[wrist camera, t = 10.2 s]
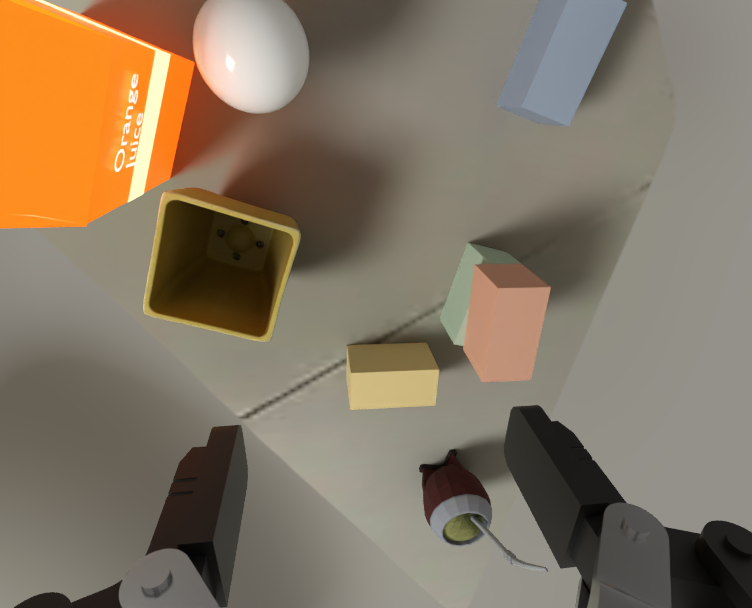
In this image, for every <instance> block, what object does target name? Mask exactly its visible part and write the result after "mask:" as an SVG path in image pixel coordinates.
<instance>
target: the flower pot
mask: <svg viewBox="0 0 752 608" xmlns="http://www.w3.org/2000/svg"><path fill="white" fill-rule="evenodd" d="M242 219H244V220H247V221H249V222H248V223H247V224H244V223H242ZM219 230H223V231H224V232H225V234H224V236H220V235H219V234H218V231H219ZM300 240H301V233H300V230H299V228H298V226H297V224H296V222H295V220H294V219H293V218H291V217H289V216H287V215H284V214H280V213H276V212H273V211H270V210H266V209H263V208H260V207H257V206H253V205H250V204H247V203H244V202H240V201H237V200H234V199H231V198H228V197H225V196H221V195H218V194H215V193H212V192H209V191H207V190H203V189H199V188H185V189H178V190H171V191H165V192H164V193H163V194H162V196H161V201H160V206H159V212H158V218H157V224H156V231H155V237H154V243H153V249H152V255H151V261H150V267H149V273H148V279H147V284H146V289H145V294H144V301H143V311H144V313H145V314H146V315H149V316H152V317H155V318H159V319H163V320H168V321H173V322H177V323H182V324H186V325H191V326H195V327H200V328H204V329H208V330H213V331H217V332H221V333H225V334H229V335H233V336H237V337H242V338H245V339H250V340H254V341H261V342H268V341H270V340H271V338H272V335H273V331H274V327H275V323H276V319H277V315H278V312H279V308H280V304H281V301H282V297H283V293H284V290H285V287H286V284H287V281H288V277H289V274H290V271H291V268H292V265H293V261H294V258H295V255H296V252H297V249H298V246H299V243H300ZM257 241H261V242H262V243H263V246H262V247H258V246H257V245H256V243H257ZM234 253H238V254H239V255H240V258H239V259H235V258H234V257H233V254H234Z"/></svg>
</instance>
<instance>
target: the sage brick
mask: <svg viewBox="0 0 752 608" xmlns="http://www.w3.org/2000/svg"><path fill="white" fill-rule="evenodd" d="M475 264H521V263H520V262H519V261H517V260H516V259H515V258H514V257H512V256H511V255H510V254H509V253H507V252H505V251H501V250H497V249H493V248H489V247H485V246H480V245H476V244H472V243H467V246H466V249H465V251H464V254H463V257H462V260H461V262H460V265H459V268H458V270H457V273H456V276H455V279H454V281H453V284H452V287H451V289H450V292H449V295H448V297H447V300H446V303H445V306H444V308H443V311H442V314H441V316H440V321H441V322H442V324H443V326H444V328H445V329H446V331H447V333H448V335H449V337H450V338H451V340H452V342H453V344H454V345H460V346H464V339H465V332H466V324H467V317H468V310H469V302H470V295H471V288H472V280H473V273H474V266H475ZM522 265H523V264H522ZM527 269H528V268H527Z"/></svg>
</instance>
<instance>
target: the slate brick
mask: <svg viewBox="0 0 752 608" xmlns="http://www.w3.org/2000/svg"><path fill="white" fill-rule="evenodd" d="M626 5H627V3H626V2H624V1H622V0H539V3H538V5H537V8H536V10H535V12H534V15H533V17H532V20H531V22H530V25H529V27H528V30H527V32H526V34H525V37H524V39H523V42H522V44H521V47H520V49H519V51H518V54H517V56H516V59H515V61H514V64H513V66H512V69H511V71H510V73H509V76H508V78H507V81H506V83H505V86H504V88H503V90H502V93H501V95H500V98H499V100H498V103H497V105H496V106H497V107H500V108H502V109H505V110H507V111H510V112H512V113H514V114H517V115H519V116H522V117H524V118H527V119H529V120H531V121H534V122H536V123H540V124H550V125H559V126H568V127H569V125H570V123H571V121H572V119H573V117H574V115H575V112H576V110H577V108H578V106H579V104H580V102H581V100H582V98H583V96H584V94H585V91H586V89H587V87H588V85H589V83H590V81H591V79H592V77H593V75H594V73H595V71H596V68H597V66H598V64H599V62H600V60H601V58H602V56H603V54H604V52H605V50H606V47H607V45H608V43H609V41H610V39H611V37H612V35H613V33H614V31H615V29H616V26H617V24H618V22H619V20H620V18H621V16H622V14H623V12H624V10H625V8H626Z"/></svg>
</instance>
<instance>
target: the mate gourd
mask: <svg viewBox="0 0 752 608" xmlns="http://www.w3.org/2000/svg"><path fill="white" fill-rule="evenodd" d="M456 454H457V452H456V451H455V450H450V451H449V452H448V455H447V457H446V459H445V461H444V464H443V466H432V465H422V464H421V465H420V468H419V469H420V472H422V473H423V477H422V487H423V502H424V511H425V517H426V519H427V522H428V523H429V525H430V527H431V529H432V531H433V532H434V533H435V534H436V536H437V537H438V538H439V539H440V540H442V541H443V542H445V543H447V544H450V545H452V546H465V545H470V544H472V543H475V542H477V541H479V540H480V539H481V538H482V537H483V536H484V535H486V536H487V537H488V538H489V539H490V540H491V541H492V543H493V544H494V545H495V546H496V547H497V548H498V549H499V550H500V551H501V553H502V554H503V556H504V558H505V559H506V560H507V561H508V562H509V563H511V564H514V565H516V566H518V567H521V568H524V569H530V570H537V571H544V572H548V570H547V568H546V567H541V566H537V565H533V564H529V563H525V562H523V561H521V560H519V559H517V558H516V556H515V555H514V554H512V552H511V551H509V550H507V549H506V548H505V547H504V546H503V545H502V544H501V543H500V542H499V540H498V539H497V538H496V537H495V536H494V535H493V534H492V533H491V532H490V531H489V530H488V529H489V527H490V524H491V519H492V508H491V503H490V499H489V496H488V494H487V492H486V491H485V489H484V487H483V486H482V484H481V482H480V481H479V480H478V479H477V477H476V476H475V475H473V474H472V473H471V472H469V470H466V469H464V468H463V467H462V465H461V464H460V462H459V461H458V460H457V458H456Z"/></svg>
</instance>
